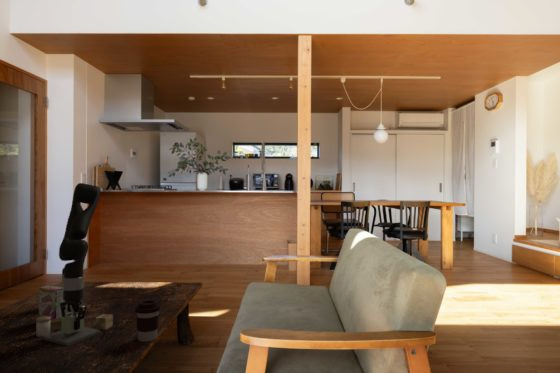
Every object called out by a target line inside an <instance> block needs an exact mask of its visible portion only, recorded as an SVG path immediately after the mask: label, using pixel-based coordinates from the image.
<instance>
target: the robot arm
mask: <svg viewBox="0 0 560 373" xmlns="http://www.w3.org/2000/svg"><path fill="white" fill-rule="evenodd" d="M100 197H101V188H100V187H99V186H97V185H92V184H88V183H84V182H83V183H81V182H80V183H77V184H76V186H75V188H74V190H73V195H72V200H71V201H72V202H71V206H70V207H71V208H70V211H69V215H68V219H67V221H66V226H65V231H64V234H63V235H64V236H63V238H62V241H61V243H60V245H59V248H58V249H59V250H58V257H59V259H60V260H61V261H62V262H67V261H68V262H67V263H66V264H64V267H63V268H62V270H61V287H62V288H63V300H64V301H65V302H62V303H60V307H61V314H62V317H66V316H69V315H72V316H73V317H74V330H78V329H79V328H80V320H81V319H84V320H85V316H86V312H87V305H86V304H85V305H84V304H82V299H84V294H85V293H84V290H85V288H84V287H85V283H84V282H85V281H84V265H85V262H86V261H85V260H86V257H87V254H88V252H89V251H88V250H89V243H88V241H86V240H85V239H86V237H87V236H88V233H89V232H88V231H89V229H90V228H89V227H90V224H91V221H92V218H93V215H94V213H95V210H96V208H97V206H98V203H99V200H100ZM81 203H82V204H86V205H88V206H87V207H86V208H85V209H84V208H83V207H82V204H81ZM70 261H72V262H70ZM64 310H65V314H64ZM76 315H78V317H77V316H76ZM81 315H82V316H81Z"/></svg>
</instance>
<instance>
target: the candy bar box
mask: <svg viewBox="0 0 560 373" xmlns="http://www.w3.org/2000/svg"><path fill="white" fill-rule="evenodd" d="M62 302H65V301H64V300H63V288H62V286H61V287H60V286H52V285H46V286H41V287H38V317H41V316H51V320H53V319H58V318H63V317H62V314H61V307H60V303H62ZM64 314H65V310H64Z"/></svg>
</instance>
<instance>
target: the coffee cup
mask: <svg viewBox="0 0 560 373" xmlns="http://www.w3.org/2000/svg"><path fill="white" fill-rule="evenodd" d="M161 308H162V307H161V304H160V303H158V302H157V301H156V300H153V299H149V300H142V301H140V302H139V303H138V304H137V305H135V307H134V312H135V313H136V315H135V316H136V317H135V318H136V320H135V321H136V330H137V339H138V340H137V341H139V342H142V343H148V342H153V341H154V340H156V339H157V338H158V337H157V336H158V329H159V322H160V321H159V320H160V312H159V311H160V310H161Z"/></svg>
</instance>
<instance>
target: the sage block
mask: <svg viewBox="0 0 560 373" xmlns="http://www.w3.org/2000/svg"><path fill="white" fill-rule="evenodd" d="M76 316H77V317H78V315H76ZM81 316H82V315H81ZM84 327H85V318H84V319H81V320H80V328H79V329H78V330H74V317H73V316H72V315H69V316H66V317H63V318H61V330H60V331H61V333H65V334H70V333H73V332H76V331H79V330H81V329H84Z"/></svg>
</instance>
